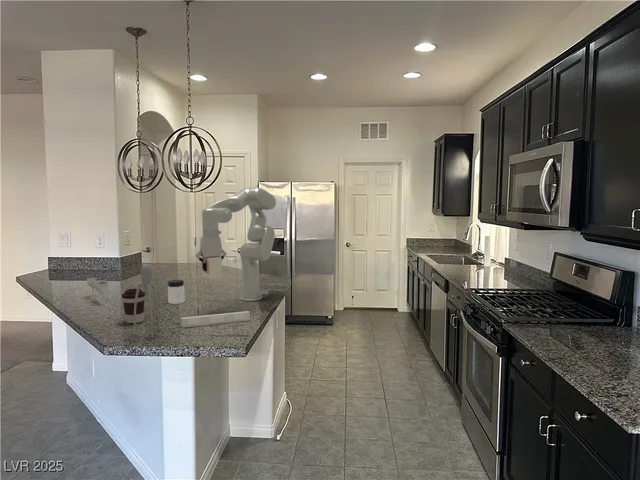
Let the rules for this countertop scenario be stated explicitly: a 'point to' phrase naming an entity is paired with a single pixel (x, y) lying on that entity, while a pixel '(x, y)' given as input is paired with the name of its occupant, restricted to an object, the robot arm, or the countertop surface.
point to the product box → (213, 268)
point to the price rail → (215, 319)
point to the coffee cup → (129, 305)
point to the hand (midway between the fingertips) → (211, 269)
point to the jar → (176, 292)
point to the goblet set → (98, 287)
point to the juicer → (146, 284)
